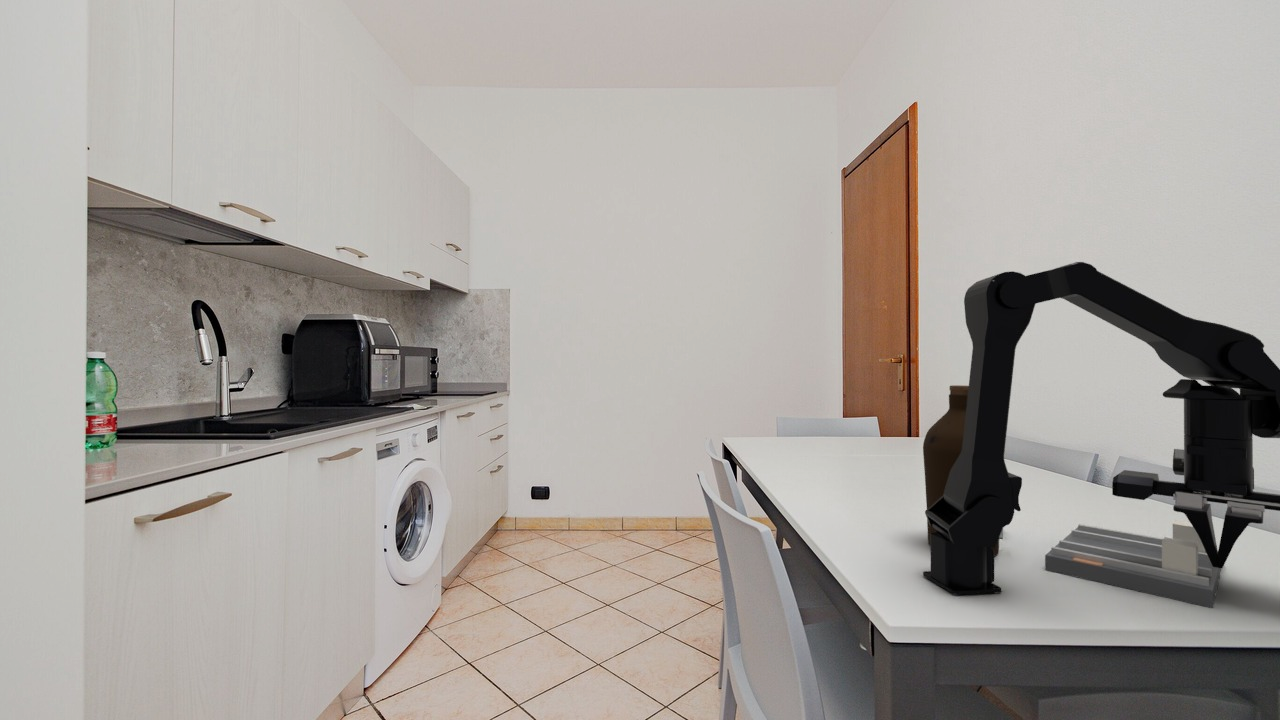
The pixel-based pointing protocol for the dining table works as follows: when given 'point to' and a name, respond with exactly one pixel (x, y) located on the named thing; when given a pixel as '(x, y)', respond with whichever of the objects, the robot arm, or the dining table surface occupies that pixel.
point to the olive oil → (945, 448)
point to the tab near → (1180, 556)
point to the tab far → (1186, 533)
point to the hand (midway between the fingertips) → (1217, 567)
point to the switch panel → (1131, 564)
